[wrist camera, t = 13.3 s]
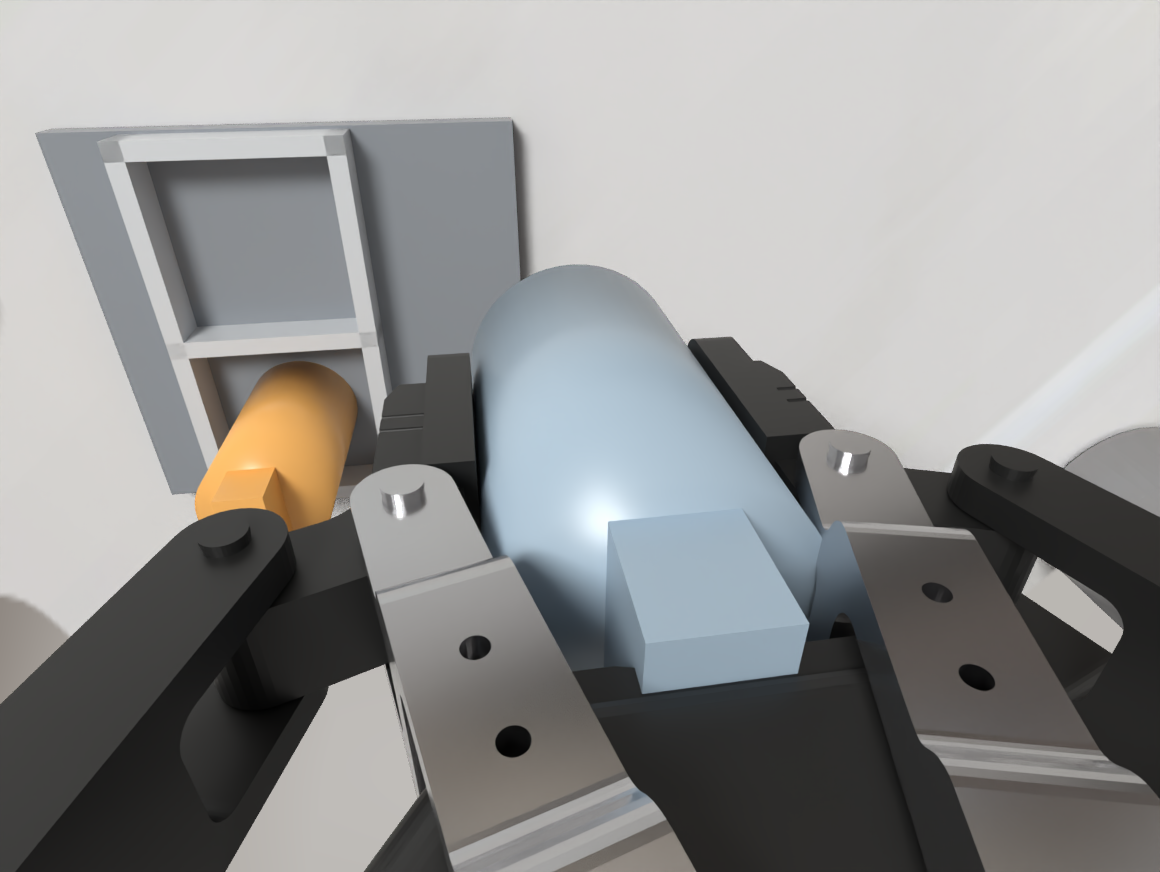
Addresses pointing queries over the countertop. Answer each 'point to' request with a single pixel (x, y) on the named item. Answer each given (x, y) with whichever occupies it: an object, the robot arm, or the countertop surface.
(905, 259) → the countertop surface
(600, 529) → the light blue bottle
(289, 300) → the housing
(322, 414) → the orange bottle
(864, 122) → the countertop surface
